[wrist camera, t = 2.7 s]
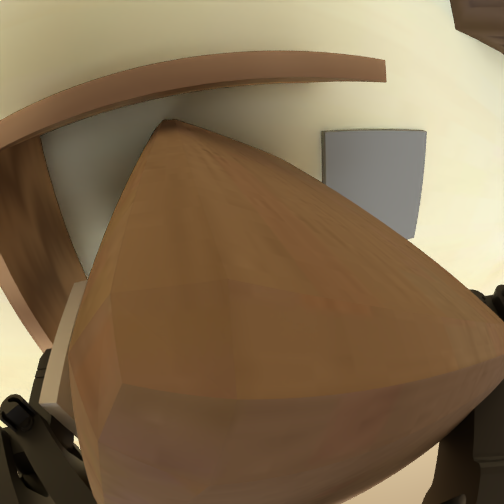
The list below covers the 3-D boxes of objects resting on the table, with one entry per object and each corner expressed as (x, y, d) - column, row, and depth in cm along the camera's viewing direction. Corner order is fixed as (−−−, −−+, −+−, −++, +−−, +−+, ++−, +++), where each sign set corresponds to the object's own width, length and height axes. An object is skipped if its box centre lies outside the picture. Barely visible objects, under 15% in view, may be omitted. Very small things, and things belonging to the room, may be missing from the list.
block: (286, 160, 21) (531, 345, 5) (237, 268, 25) (345, 502, 8) (160, 114, 17) (12, 387, 1) (122, 241, 21) (102, 536, 4)
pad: (321, 131, 21) (325, 132, 20) (422, 130, 23) (426, 131, 23) (320, 259, 27) (323, 262, 27) (410, 235, 29) (413, 237, 29)
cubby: (24, 126, 14) (-49, 151, 7) (305, 67, 18) (385, 60, 10) (96, 322, 24) (85, 401, 16) (311, 272, 28) (359, 335, 20)
